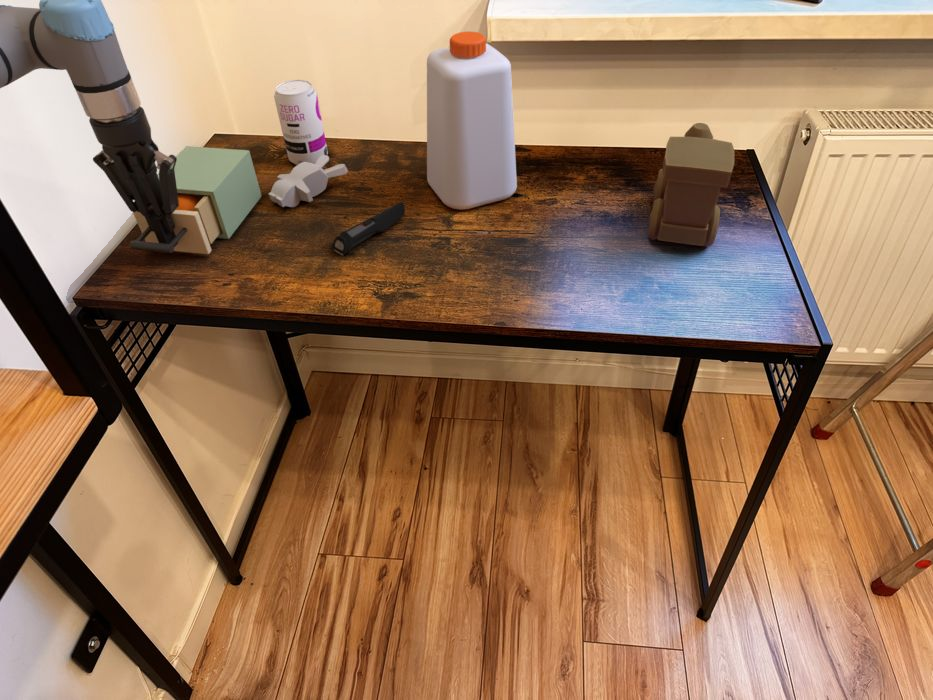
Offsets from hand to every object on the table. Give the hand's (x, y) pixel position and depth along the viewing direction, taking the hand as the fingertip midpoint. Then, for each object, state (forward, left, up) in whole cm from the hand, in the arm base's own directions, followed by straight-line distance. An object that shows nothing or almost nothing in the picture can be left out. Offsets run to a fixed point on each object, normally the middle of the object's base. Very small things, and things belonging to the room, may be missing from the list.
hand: (170, 246), depth 113 cm
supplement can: (+10, +38, -3) cm, 39 cm away
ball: (0, +8, +2) cm, 8 cm away
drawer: (0, +5, -2) cm, 6 cm away
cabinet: (0, +15, -3) cm, 15 cm away
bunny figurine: (+15, +25, -3) cm, 29 cm away
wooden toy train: (+85, +24, -3) cm, 88 cm away
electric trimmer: (+31, +13, -3) cm, 34 cm away
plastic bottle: (+46, +31, -3) cm, 55 cm away
